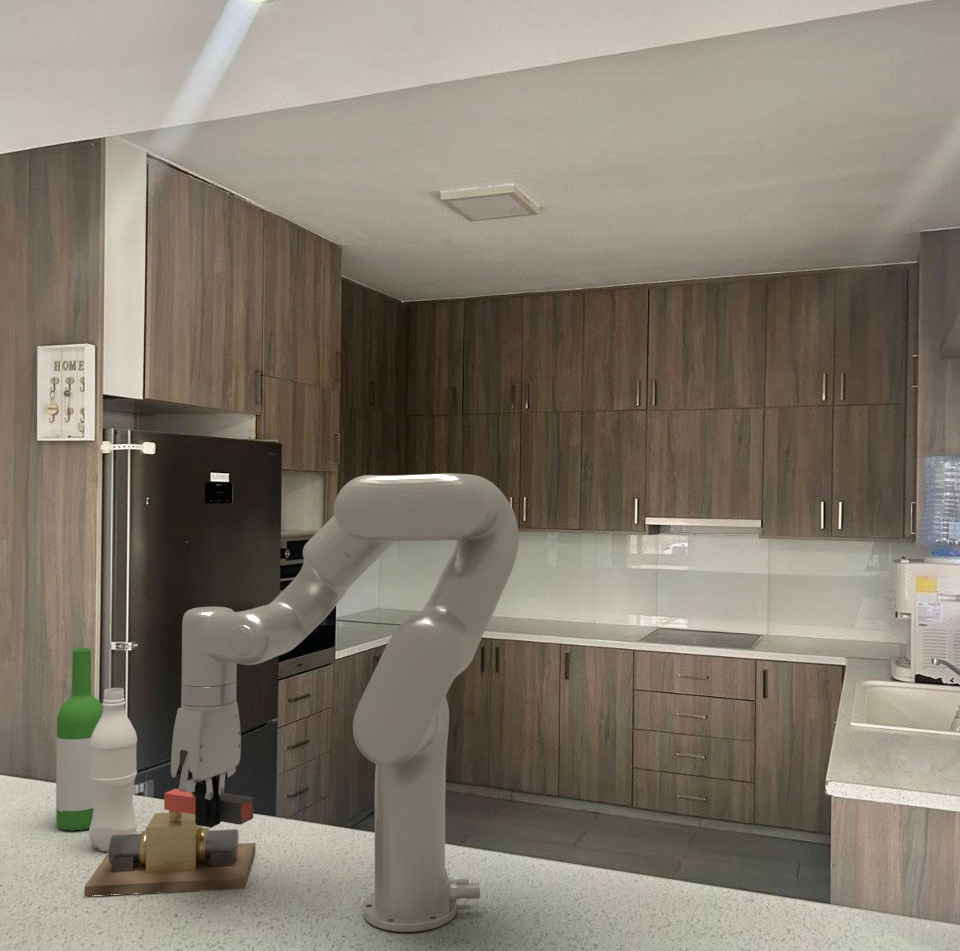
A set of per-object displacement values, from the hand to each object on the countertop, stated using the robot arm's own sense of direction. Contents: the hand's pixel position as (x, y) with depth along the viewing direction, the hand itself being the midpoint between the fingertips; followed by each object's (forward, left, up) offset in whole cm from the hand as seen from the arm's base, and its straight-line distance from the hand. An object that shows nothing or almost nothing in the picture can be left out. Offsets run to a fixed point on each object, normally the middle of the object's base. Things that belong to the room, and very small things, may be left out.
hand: (207, 824), depth 135 cm
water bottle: (+18, -21, -10) cm, 29 cm away
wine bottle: (+26, -32, -10) cm, 42 cm away
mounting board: (+6, -8, -10) cm, 14 cm away
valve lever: (+1, -5, -1) cm, 5 cm away
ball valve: (+6, -8, -8) cm, 13 cm away
